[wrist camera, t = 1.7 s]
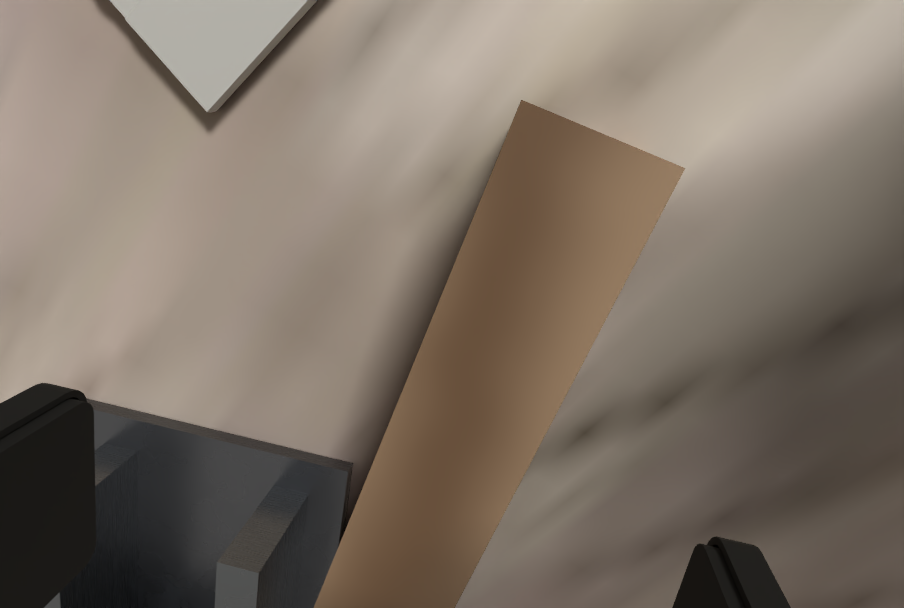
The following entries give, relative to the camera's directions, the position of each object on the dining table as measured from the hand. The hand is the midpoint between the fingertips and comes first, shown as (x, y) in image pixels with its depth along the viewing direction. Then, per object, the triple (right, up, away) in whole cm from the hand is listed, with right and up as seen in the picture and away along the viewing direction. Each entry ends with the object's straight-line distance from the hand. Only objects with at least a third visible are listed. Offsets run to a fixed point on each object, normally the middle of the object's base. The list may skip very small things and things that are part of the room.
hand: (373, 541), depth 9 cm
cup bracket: (-10, -8, +18) cm, 22 cm away
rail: (+2, +1, +13) cm, 14 cm away
